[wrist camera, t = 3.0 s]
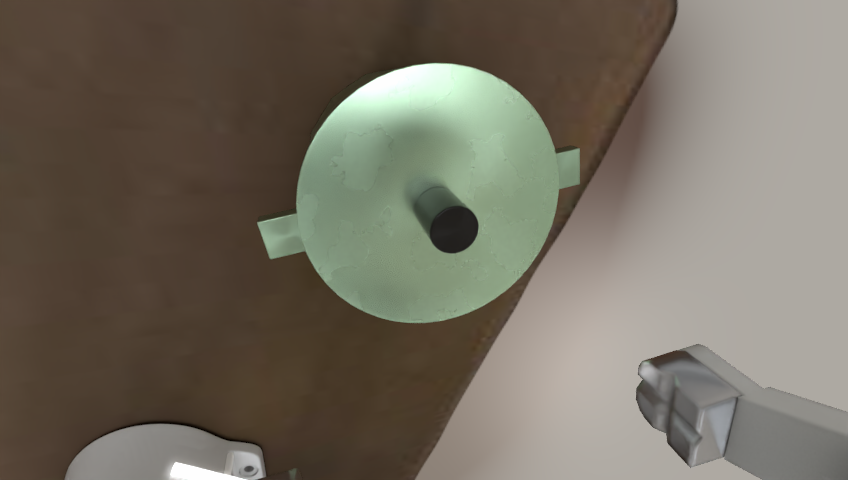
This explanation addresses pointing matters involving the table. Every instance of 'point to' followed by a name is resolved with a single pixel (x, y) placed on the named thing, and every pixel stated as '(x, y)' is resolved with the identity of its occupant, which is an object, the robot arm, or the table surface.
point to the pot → (283, 225)
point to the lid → (427, 192)
